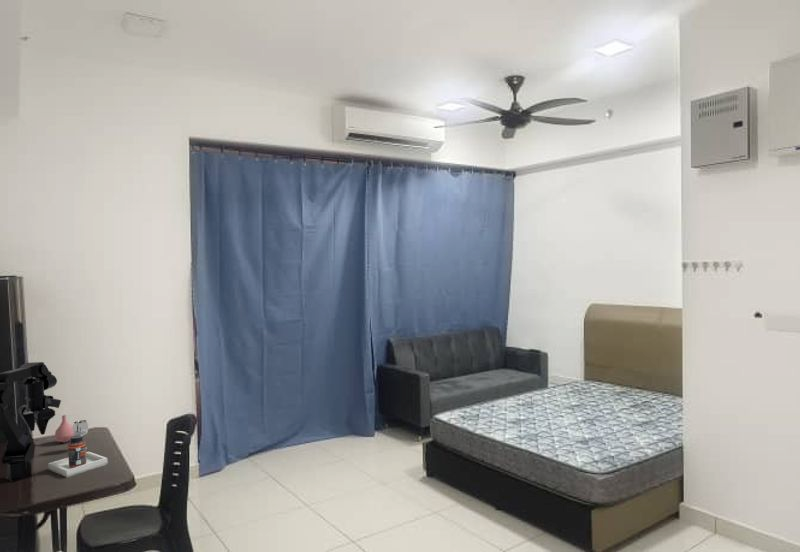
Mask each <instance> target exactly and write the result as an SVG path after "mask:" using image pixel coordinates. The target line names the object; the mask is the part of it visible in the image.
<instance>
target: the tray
mask: <svg viewBox="0 0 800 552" xmlns="http://www.w3.org/2000/svg"><path fill="white" fill-rule="evenodd" d="M108 464H109V463H108V457H105V456H102V455H100V454H97V453H94V452H91V451H86V464H84V465H81V466H78V467H70V466H69V456H68V457H65V458H61V459H59V460H55V461H52V462H48V470H49V471H51V472H53V473H55V474H58V475H60V476H63V477H64V478H71V477H73V476H77V475H79V474H82V473H86V472H89V471H91V470H95V469H98V468H102V467H104V466H106V465H108Z"/></svg>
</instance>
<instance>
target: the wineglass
mask: <svg viewBox="0 0 800 552" xmlns="http://www.w3.org/2000/svg"><path fill="white" fill-rule="evenodd" d="M72 427H73V434H74V436H76V435H82V437H84V436H85V435H87V434H88V432H89V424H88V421H87V420H86V419H81V420H76V421H74V422H73V426H72ZM87 449H88V447H87V446H86V450H87Z"/></svg>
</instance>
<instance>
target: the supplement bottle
mask: <svg viewBox="0 0 800 552" xmlns="http://www.w3.org/2000/svg"><path fill="white" fill-rule="evenodd" d="M83 437H84V436H82V435H76V436H75V435H74V436H72V437H71V440H70V442H69V443H68V444H67V449H68V450H67V451H68V452H67V454H68V457H69V466H70V467H78V466H81V465H84V464H86V452H87V449H86V447H87V445H86V444H87V443H86V441H85V440H84V439H83Z"/></svg>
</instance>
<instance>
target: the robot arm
mask: <svg viewBox="0 0 800 552" xmlns="http://www.w3.org/2000/svg"><path fill="white" fill-rule="evenodd" d="M23 379H25V380H24V382H23V383H22V384H23V386H26V396H25V397H24V400H25V401H26V403H27V404H24V405H20V406H19V407H18V412H17V413H18V414H19V416H20V417H21V418H22V419H23V422H24V423H26V425H27V428H28V429H29V431H30V432H33V431H35V428H37V429H38V431H39V433H40V435H45V433H46V429H47V426H48V423H49V421H50V420H51V419H52V418H54V417H55V416H56V410H55V409H54V408H56V409H59V408H60V406H61V402H62V400H61V399H57V398H54V396H53V395H46V394H45V391H46V390H49V389H51V388H54V387H55V386H56V385H57V383H58V379H57V377H56V376H55V375H53V374H52V371H50V370H49V368H48V367H47V365H46V364H45V362H44V361H35V362H34V361H33V362H26V363H25V362H24V363H23V364H22V365H21V366H20V367H19V368H15V369H12V370H11V369H10V370H7V371H4V372H0V385H5V387H4V389H0V431H1V433H2V434H3V436H4V438H5V439H6V444H5V447H4V448H5V451H4V452H3V455H2V457H1V460H0V461H1V463H2V465H5V464H6V465H7V466H6V469H7V476H5V479H6V480H8V481H10V482H12V483H15V482H17V481H21V480H24V479H27V478H31V477H32V476H33V474H32V462H31V461H32V460H33V459H34V457H35V452H36V451H35V450H36V444H35V439H34V438H33V437H32V436H33V435H32V434H31V433H30V432H22V431H21V428H20V427H19V425H18V423H17V422H16V419H15V418H14V416H13V415H12V412H11V411H10V409H9V407H8V406H9V404H10V401H11V400H10V398H11V395H12V393H13V388H12V384H13V383H14V382H16V381H20V380H23ZM35 426H37V427H35Z"/></svg>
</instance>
